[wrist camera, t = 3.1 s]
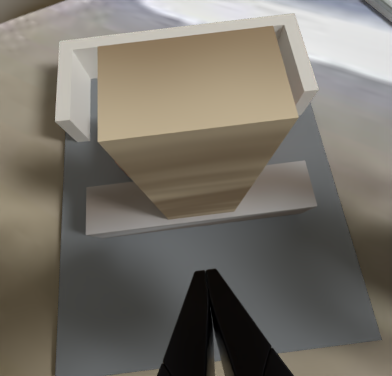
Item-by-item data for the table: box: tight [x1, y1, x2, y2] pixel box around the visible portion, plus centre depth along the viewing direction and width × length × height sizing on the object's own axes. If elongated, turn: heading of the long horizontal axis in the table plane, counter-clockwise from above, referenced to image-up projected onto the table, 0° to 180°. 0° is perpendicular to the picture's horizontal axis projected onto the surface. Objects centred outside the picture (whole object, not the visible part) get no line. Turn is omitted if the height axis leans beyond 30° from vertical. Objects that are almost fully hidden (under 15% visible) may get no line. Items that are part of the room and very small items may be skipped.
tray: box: [55, 13, 319, 142], centre depth 18 cm, size 7×18×3 cm, turn 97°
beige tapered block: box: [86, 26, 317, 238], centre depth 11 cm, size 3×14×12 cm, turn 97°
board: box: [55, 78, 382, 376], centre depth 18 cm, size 24×20×1 cm
